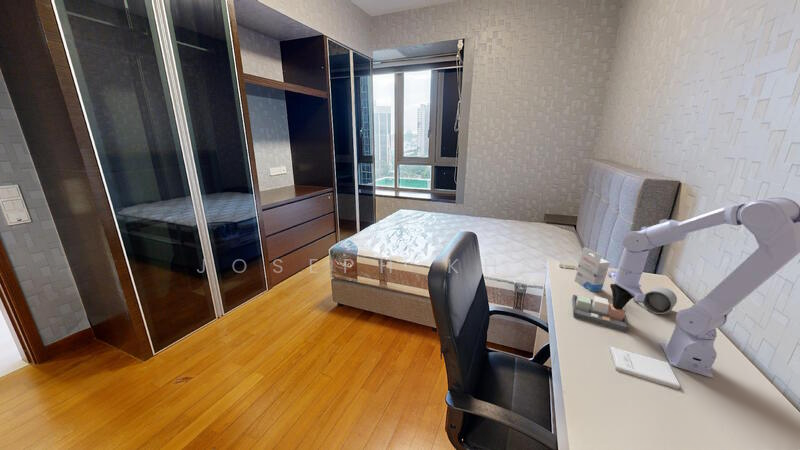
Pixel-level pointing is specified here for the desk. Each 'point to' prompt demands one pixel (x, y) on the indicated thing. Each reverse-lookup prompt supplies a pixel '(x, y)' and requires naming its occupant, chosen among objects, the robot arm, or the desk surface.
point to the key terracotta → (615, 313)
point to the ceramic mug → (659, 300)
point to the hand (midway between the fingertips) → (617, 307)
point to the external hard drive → (643, 367)
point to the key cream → (600, 304)
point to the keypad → (598, 317)
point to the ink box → (591, 270)
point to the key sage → (583, 303)
